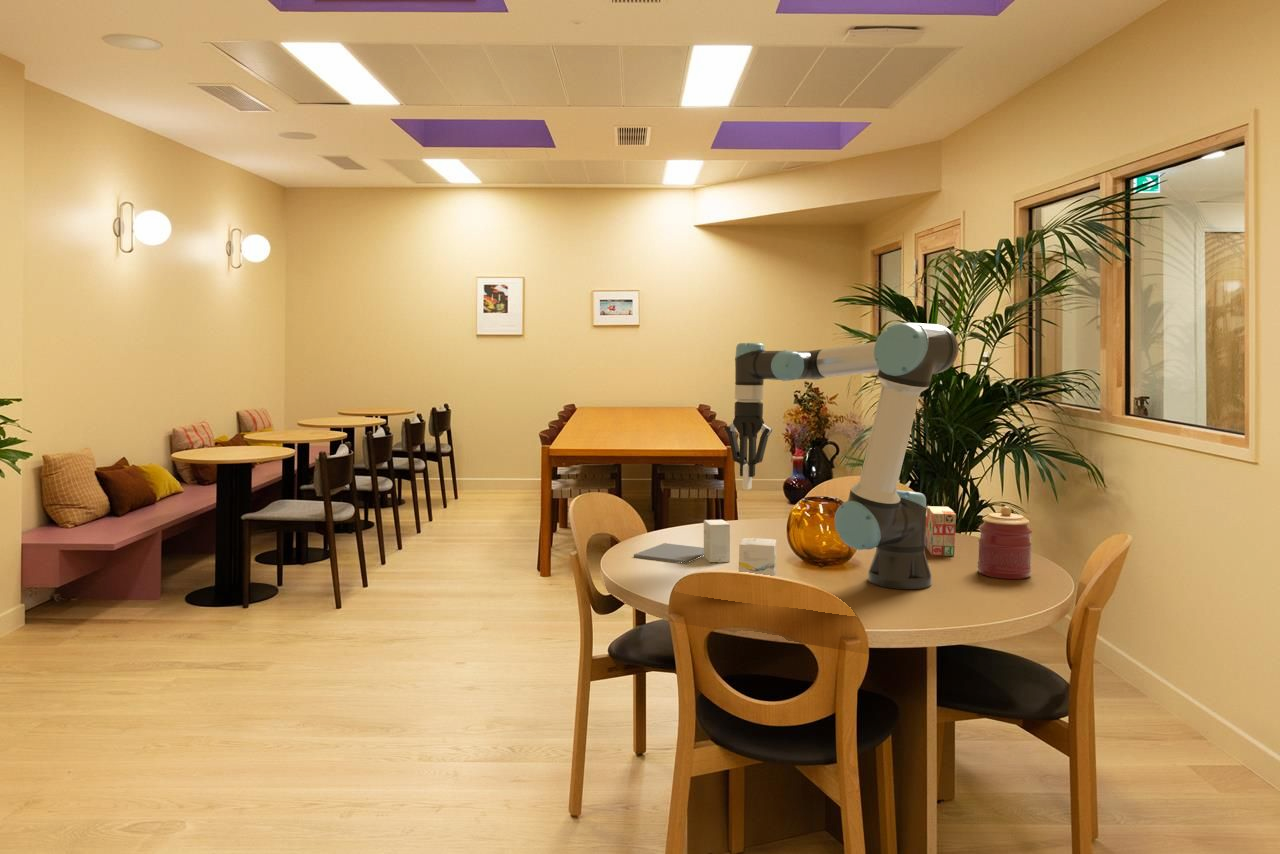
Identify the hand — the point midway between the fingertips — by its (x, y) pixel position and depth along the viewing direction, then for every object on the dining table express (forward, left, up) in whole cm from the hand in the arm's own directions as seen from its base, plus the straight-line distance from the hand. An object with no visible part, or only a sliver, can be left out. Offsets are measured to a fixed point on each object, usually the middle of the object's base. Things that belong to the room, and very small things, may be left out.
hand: (747, 488), depth 251 cm
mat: (+22, 0, -20) cm, 30 cm away
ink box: (-13, +24, -21) cm, 34 cm away
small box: (+9, 0, -21) cm, 22 cm away
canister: (-62, -23, -21) cm, 69 cm away
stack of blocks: (-40, -47, -21) cm, 66 cm away
